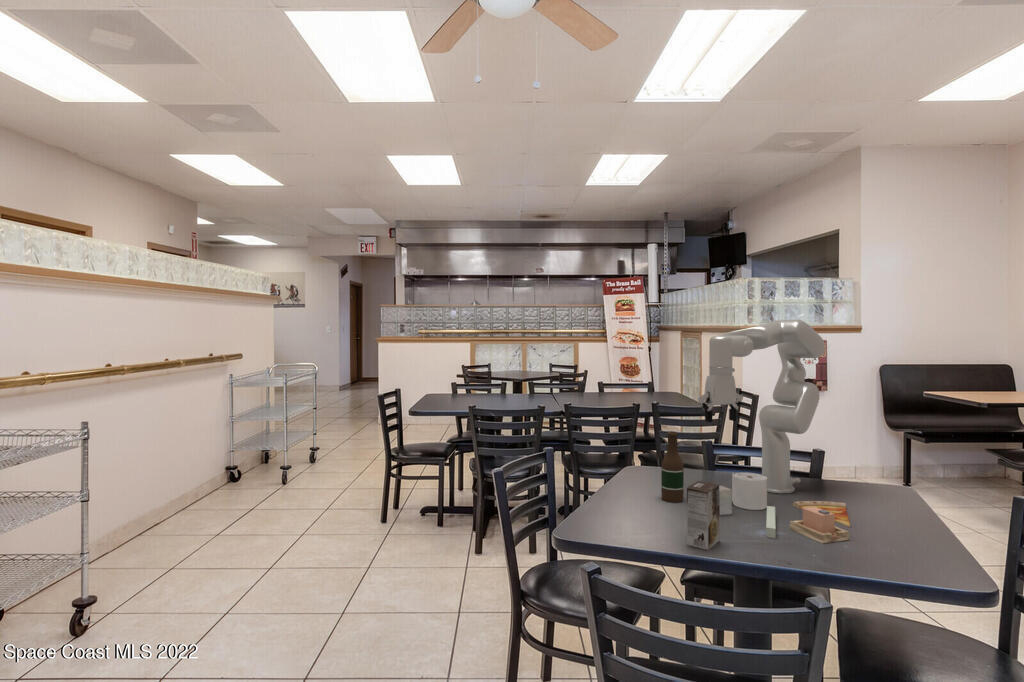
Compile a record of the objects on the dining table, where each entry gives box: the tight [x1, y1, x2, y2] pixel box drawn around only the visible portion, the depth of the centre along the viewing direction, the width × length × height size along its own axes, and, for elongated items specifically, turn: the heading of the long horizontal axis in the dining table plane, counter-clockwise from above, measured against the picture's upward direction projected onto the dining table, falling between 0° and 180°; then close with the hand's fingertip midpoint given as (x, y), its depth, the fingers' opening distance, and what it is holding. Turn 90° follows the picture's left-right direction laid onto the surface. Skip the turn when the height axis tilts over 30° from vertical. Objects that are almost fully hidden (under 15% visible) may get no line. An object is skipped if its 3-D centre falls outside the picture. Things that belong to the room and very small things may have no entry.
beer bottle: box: [660, 430, 685, 503], centre depth 196 cm, size 8×8×24 cm
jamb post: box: [719, 485, 733, 516], centre depth 181 cm, size 5×5×8 cm
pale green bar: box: [765, 505, 777, 539], centre depth 169 cm, size 22×2×3 cm, turn 155°
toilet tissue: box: [731, 470, 768, 511], centre depth 189 cm, size 11×12×10 cm
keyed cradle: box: [789, 519, 850, 544], centre depth 161 cm, size 9×12×2 cm
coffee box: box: [686, 480, 721, 551], centre depth 155 cm, size 9×6×16 cm
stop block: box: [802, 507, 836, 535], centre depth 161 cm, size 4×7×7 cm, turn 16°
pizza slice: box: [792, 500, 851, 528], centre depth 180 cm, size 16×22×2 cm
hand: (720, 421), depth 192 cm, fingers open, 9 cm apart
